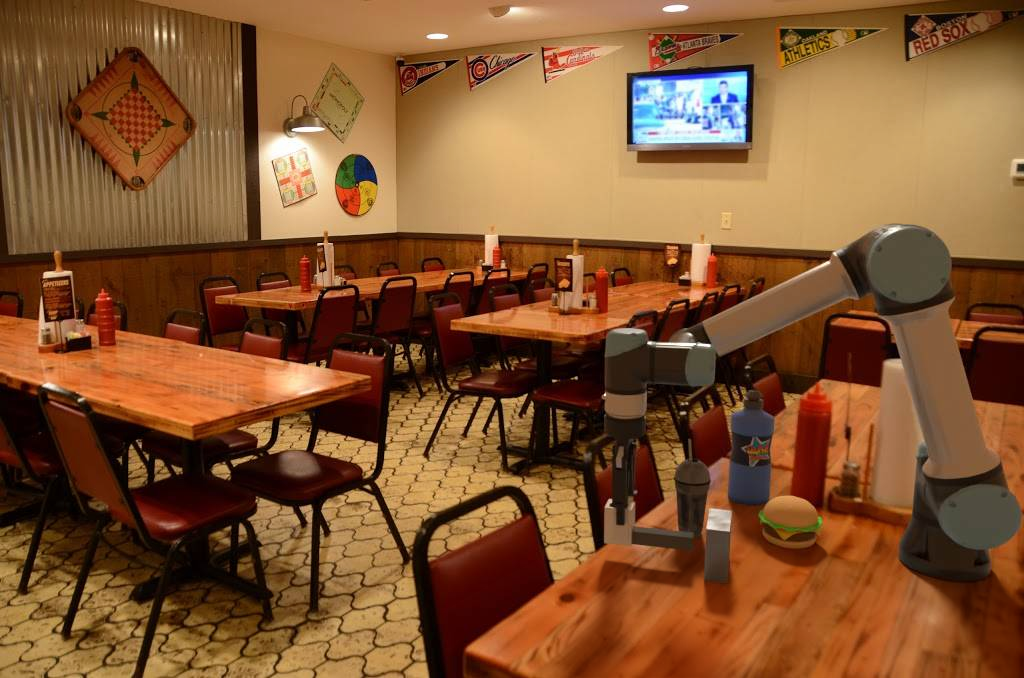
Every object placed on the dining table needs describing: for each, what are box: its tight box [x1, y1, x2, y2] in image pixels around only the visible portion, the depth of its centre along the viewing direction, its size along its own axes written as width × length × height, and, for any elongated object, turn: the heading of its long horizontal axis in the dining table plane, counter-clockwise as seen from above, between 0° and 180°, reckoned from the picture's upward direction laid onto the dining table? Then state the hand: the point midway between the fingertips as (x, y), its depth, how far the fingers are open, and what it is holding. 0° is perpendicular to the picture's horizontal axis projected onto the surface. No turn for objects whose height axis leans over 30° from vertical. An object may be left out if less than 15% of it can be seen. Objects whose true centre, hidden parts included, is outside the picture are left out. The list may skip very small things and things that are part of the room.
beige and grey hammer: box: [603, 498, 695, 552], centre depth 149 cm, size 16×4×7 cm, turn 73°
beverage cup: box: [673, 438, 712, 539], centre depth 161 cm, size 7×7×20 cm
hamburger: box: [758, 495, 823, 550], centre depth 160 cm, size 12×12×9 cm
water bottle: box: [727, 388, 776, 506], centre depth 180 cm, size 9×9×25 cm
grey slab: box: [703, 507, 733, 585], centre depth 146 cm, size 4×10×10 cm, turn 163°
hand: (623, 534), depth 151 cm, fingers closed on beige and grey hammer, 4 cm apart
